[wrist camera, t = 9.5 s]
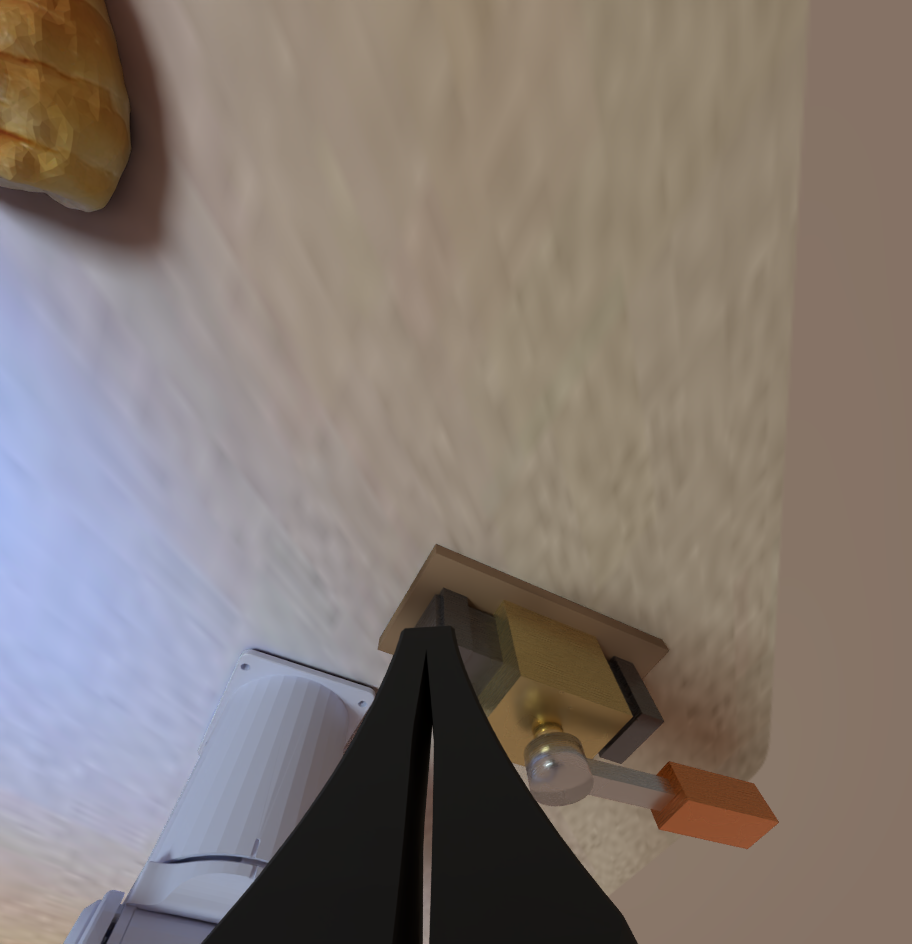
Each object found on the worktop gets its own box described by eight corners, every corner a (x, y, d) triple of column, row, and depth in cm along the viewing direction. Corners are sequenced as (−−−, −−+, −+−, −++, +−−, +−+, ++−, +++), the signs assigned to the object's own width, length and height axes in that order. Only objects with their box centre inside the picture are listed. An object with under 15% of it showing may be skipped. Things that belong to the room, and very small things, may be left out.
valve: (594, 711, 26) (632, 811, 21) (402, 643, 23) (393, 739, 18) (644, 656, 24) (698, 750, 19) (444, 575, 21) (447, 661, 16)
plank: (593, 714, 27) (598, 726, 26) (379, 638, 24) (377, 649, 23) (662, 640, 25) (669, 650, 24) (435, 544, 22) (435, 553, 21)
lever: (513, 761, 19) (519, 801, 17) (540, 723, 18) (549, 762, 16) (723, 812, 21) (744, 851, 20) (756, 781, 20) (782, 819, 19)
